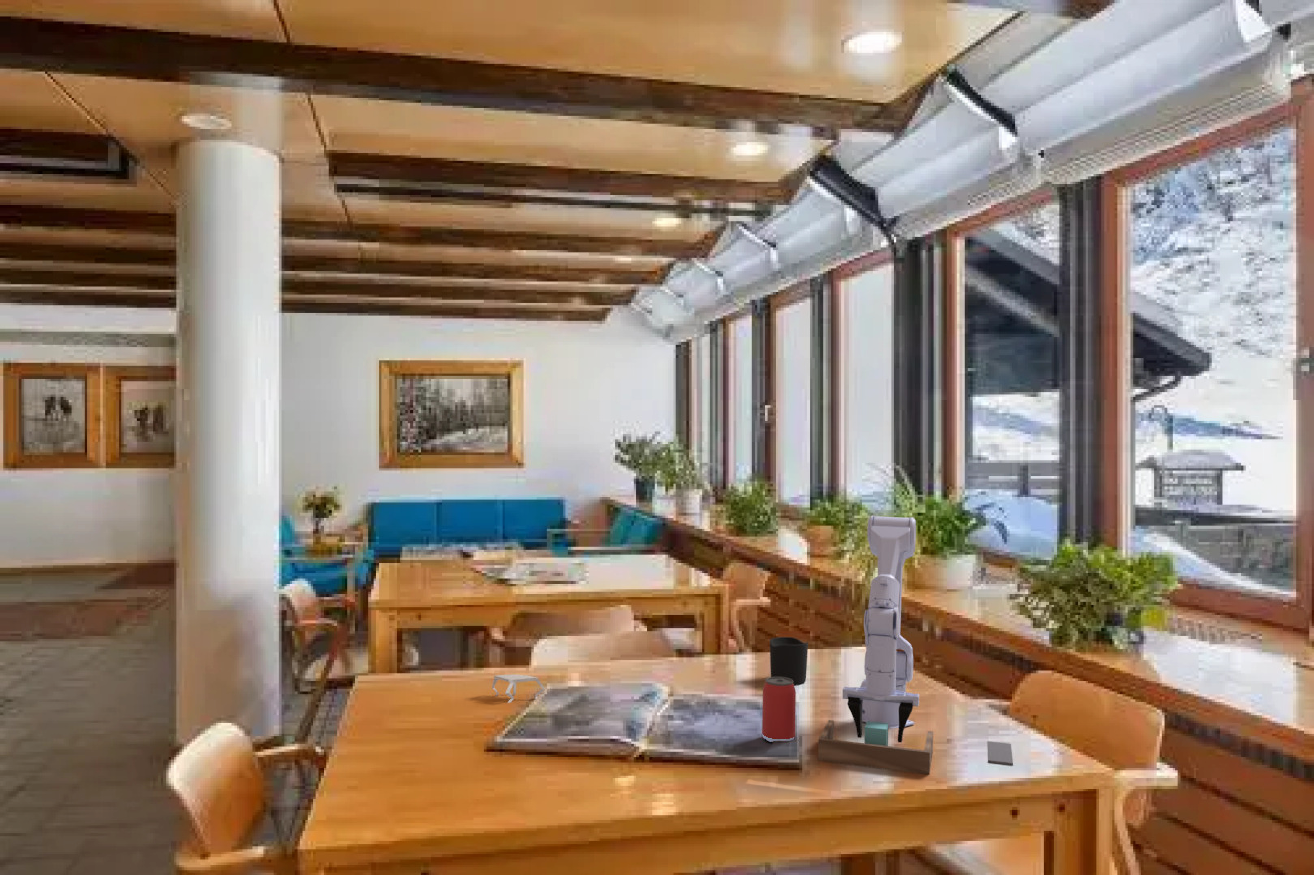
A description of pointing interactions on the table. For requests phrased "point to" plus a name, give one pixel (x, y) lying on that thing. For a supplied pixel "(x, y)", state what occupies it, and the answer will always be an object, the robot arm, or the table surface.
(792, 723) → the beer can
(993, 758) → the charcoal mat
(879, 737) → the teal block
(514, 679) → the grey legged piece
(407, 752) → the table surface
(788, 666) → the pen holder
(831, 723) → the walnut box
